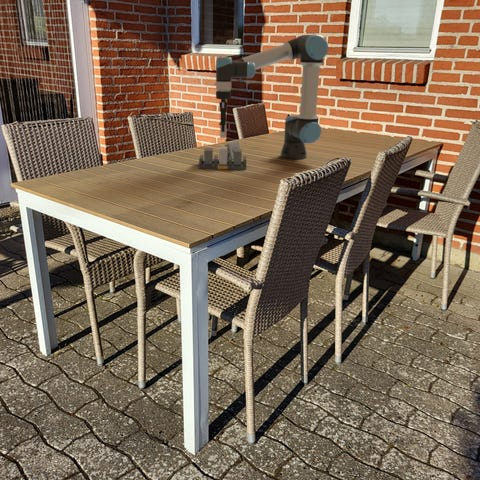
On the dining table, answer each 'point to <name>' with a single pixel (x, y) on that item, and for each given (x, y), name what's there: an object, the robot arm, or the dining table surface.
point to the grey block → (223, 156)
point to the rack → (208, 162)
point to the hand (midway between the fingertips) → (223, 136)
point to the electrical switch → (232, 148)
